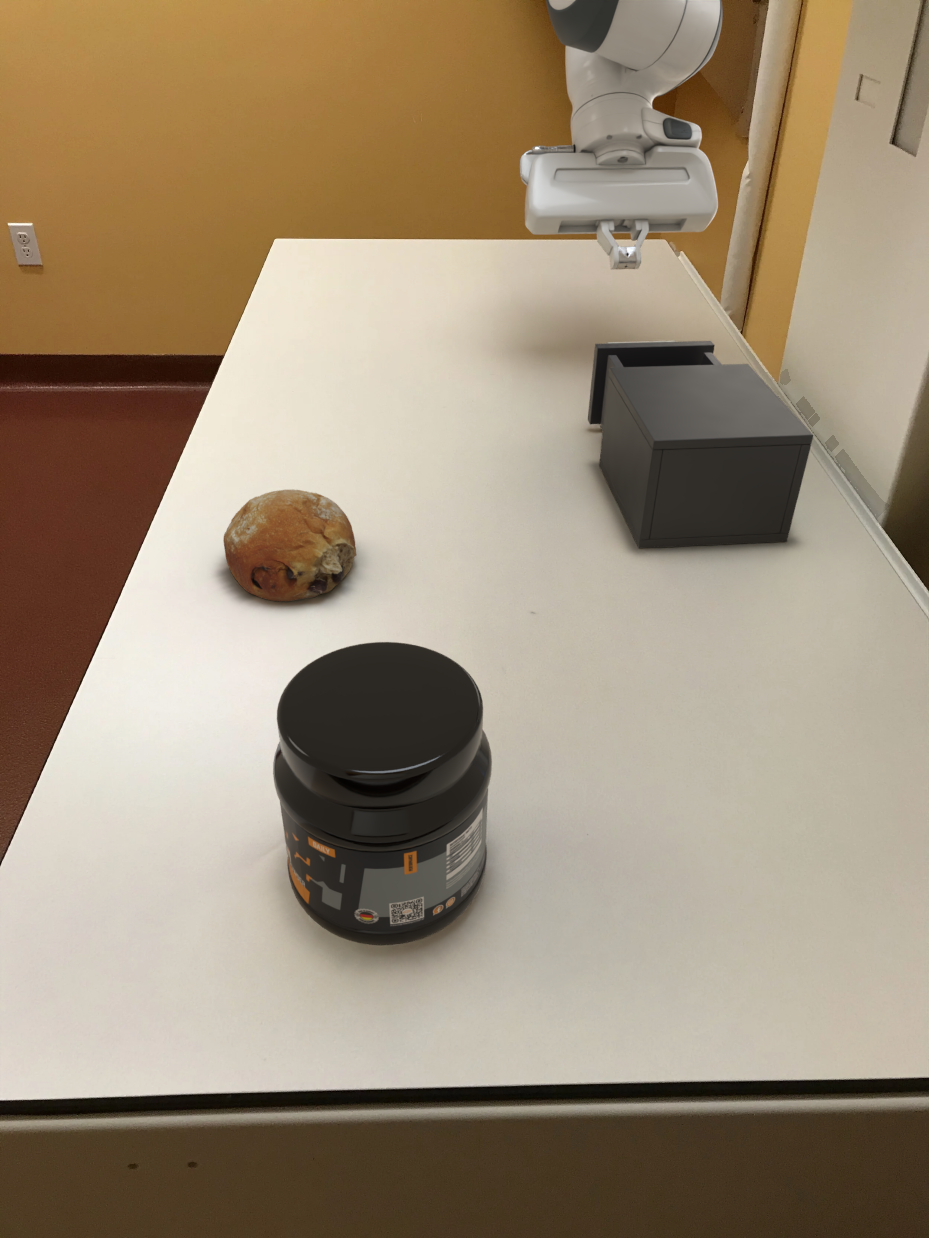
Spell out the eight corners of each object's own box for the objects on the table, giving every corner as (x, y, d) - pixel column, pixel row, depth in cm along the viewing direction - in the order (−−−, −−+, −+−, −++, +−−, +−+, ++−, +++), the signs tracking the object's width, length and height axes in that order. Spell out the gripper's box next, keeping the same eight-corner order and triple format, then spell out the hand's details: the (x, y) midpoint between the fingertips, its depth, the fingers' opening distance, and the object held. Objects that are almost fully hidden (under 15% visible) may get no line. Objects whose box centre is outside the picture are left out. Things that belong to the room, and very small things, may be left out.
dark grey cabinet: (598, 465, 90) (609, 367, 84) (728, 460, 91) (748, 363, 85) (638, 548, 78) (653, 440, 72) (787, 541, 79) (814, 435, 74)
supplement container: (301, 798, 55) (281, 632, 48) (483, 797, 56) (489, 632, 49) (276, 957, 47) (246, 785, 40) (490, 956, 47) (499, 784, 40)
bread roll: (349, 574, 81) (335, 479, 79) (374, 591, 71) (358, 483, 69) (230, 594, 78) (213, 496, 76) (239, 614, 68) (219, 502, 67)
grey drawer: (578, 402, 99) (585, 328, 94) (685, 399, 100) (697, 325, 96) (619, 484, 85) (629, 401, 80) (743, 479, 86) (761, 397, 81)
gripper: (522, 127, 98) (532, 252, 96) (715, 125, 100) (730, 249, 98) (513, 165, 104) (523, 284, 102) (696, 163, 106) (709, 280, 104)
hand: (626, 266), depth 100 cm, fingers closed
